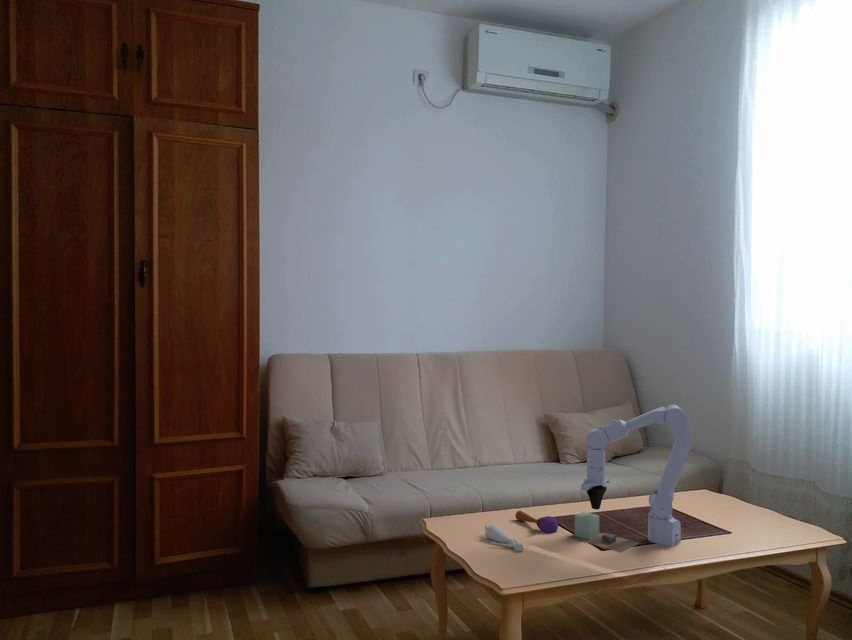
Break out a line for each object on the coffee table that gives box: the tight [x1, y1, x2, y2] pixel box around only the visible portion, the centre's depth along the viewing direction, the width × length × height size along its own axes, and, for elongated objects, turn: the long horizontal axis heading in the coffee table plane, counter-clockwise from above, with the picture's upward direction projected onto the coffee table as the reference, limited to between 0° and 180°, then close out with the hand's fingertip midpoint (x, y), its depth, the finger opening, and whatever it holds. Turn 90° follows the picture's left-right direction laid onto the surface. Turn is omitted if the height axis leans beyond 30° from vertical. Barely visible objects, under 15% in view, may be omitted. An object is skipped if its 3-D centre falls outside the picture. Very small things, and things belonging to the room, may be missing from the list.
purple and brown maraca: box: [514, 510, 559, 534], centre depth 237 cm, size 6×6×20 cm
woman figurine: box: [484, 523, 525, 553], centre depth 222 cm, size 12×4×18 cm
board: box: [567, 531, 641, 553], centre depth 222 cm, size 19×12×6 cm, turn 46°
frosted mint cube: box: [574, 511, 600, 540], centre depth 226 cm, size 6×6×6 cm
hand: (595, 508), depth 226 cm, fingers closed
